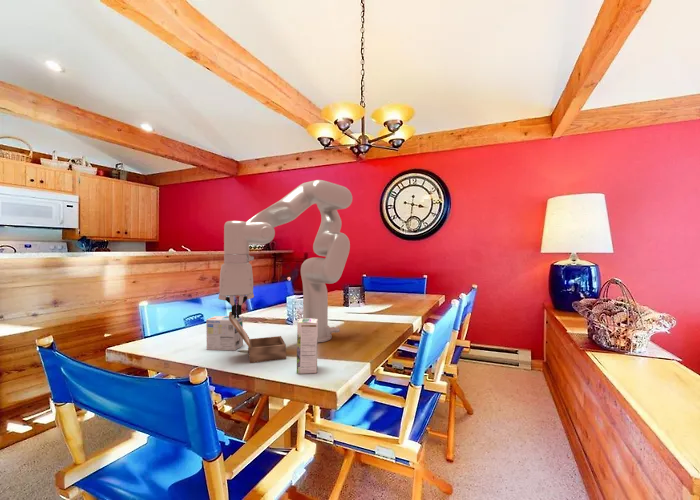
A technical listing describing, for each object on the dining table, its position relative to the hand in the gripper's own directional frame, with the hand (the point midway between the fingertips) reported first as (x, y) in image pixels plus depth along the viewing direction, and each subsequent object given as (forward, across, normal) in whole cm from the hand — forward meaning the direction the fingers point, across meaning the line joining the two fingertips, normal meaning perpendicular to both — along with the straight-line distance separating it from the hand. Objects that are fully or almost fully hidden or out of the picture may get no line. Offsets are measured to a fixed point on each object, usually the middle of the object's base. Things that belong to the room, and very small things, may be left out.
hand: (236, 317), depth 103 cm
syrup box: (+13, -19, +17) cm, 29 cm away
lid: (+4, -1, 0) cm, 4 cm away
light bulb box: (+14, +4, -14) cm, 20 cm away
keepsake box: (+13, -9, 0) cm, 16 cm away
